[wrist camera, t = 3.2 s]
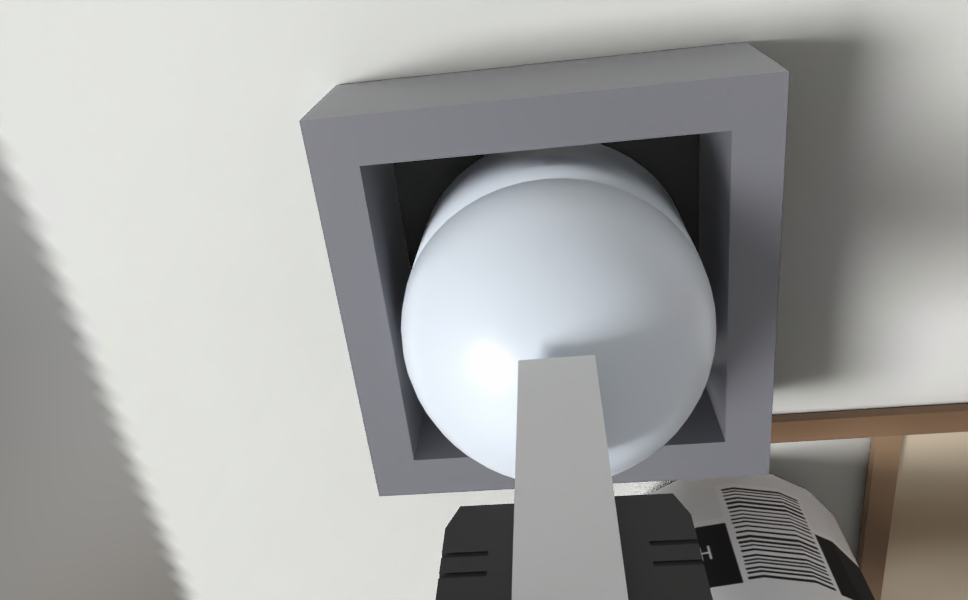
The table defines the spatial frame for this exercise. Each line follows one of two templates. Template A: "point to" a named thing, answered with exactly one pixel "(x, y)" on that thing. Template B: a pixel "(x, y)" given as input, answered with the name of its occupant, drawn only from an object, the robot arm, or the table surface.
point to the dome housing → (548, 124)
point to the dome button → (557, 299)
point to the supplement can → (768, 540)
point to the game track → (905, 494)
